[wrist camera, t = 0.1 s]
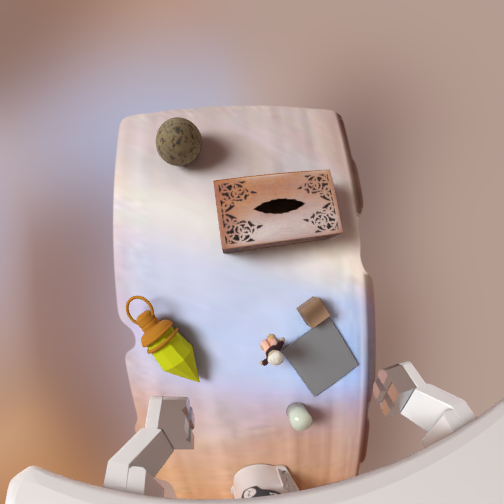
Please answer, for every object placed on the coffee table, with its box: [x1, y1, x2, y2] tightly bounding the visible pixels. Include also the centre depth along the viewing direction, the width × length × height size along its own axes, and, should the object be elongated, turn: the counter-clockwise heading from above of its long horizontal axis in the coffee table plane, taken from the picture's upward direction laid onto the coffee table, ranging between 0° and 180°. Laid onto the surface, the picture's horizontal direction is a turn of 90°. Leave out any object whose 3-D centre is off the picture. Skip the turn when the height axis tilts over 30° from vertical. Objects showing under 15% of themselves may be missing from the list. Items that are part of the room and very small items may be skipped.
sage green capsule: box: [286, 402, 312, 431], centre depth 59 cm, size 5×5×7 cm
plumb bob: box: [126, 296, 199, 382], centre depth 57 cm, size 9×9×25 cm
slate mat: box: [282, 317, 358, 397], centre depth 64 cm, size 16×14×1 cm
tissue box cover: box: [214, 170, 343, 253], centre depth 62 cm, size 26×14×10 cm, turn 99°
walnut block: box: [296, 297, 330, 328], centre depth 63 cm, size 5×5×5 cm
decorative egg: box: [156, 118, 202, 166], centre depth 58 cm, size 11×11×15 cm
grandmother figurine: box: [260, 334, 285, 366], centre depth 57 cm, size 8×4×13 cm, turn 151°
